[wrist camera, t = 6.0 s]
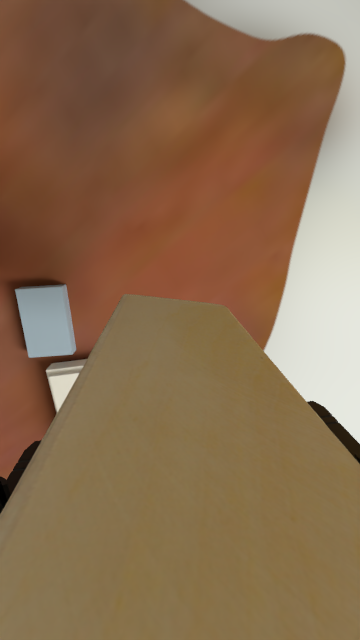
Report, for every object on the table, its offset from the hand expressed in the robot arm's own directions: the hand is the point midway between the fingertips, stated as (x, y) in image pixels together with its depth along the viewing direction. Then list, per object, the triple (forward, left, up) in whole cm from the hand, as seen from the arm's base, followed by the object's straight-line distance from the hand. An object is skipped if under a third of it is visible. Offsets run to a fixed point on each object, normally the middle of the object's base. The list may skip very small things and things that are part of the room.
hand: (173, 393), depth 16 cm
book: (0, -14, -22) cm, 26 cm away
